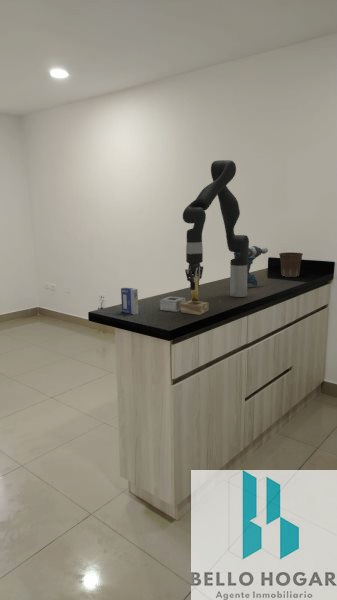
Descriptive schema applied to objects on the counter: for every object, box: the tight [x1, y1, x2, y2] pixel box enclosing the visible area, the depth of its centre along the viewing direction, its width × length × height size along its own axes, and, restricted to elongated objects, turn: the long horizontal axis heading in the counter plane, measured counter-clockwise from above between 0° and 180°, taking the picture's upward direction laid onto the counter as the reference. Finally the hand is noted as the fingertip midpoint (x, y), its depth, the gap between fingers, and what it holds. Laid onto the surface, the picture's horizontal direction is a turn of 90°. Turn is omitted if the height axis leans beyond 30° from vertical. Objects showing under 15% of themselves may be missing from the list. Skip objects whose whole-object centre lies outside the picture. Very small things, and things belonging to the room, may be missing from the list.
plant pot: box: [278, 252, 303, 278], centre depth 291 cm, size 16×16×16 cm
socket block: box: [159, 296, 187, 313], centre depth 200 cm, size 9×9×5 cm
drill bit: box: [190, 275, 199, 302], centre depth 192 cm, size 3×3×12 cm
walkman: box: [120, 287, 139, 315], centre depth 193 cm, size 8×3×12 cm, turn 56°
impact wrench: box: [233, 245, 269, 289], centre depth 252 cm, size 8×23×25 cm, turn 112°
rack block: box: [180, 300, 210, 316], centre depth 194 cm, size 9×10×4 cm
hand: (194, 289), depth 192 cm, fingers closed on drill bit, 3 cm apart
